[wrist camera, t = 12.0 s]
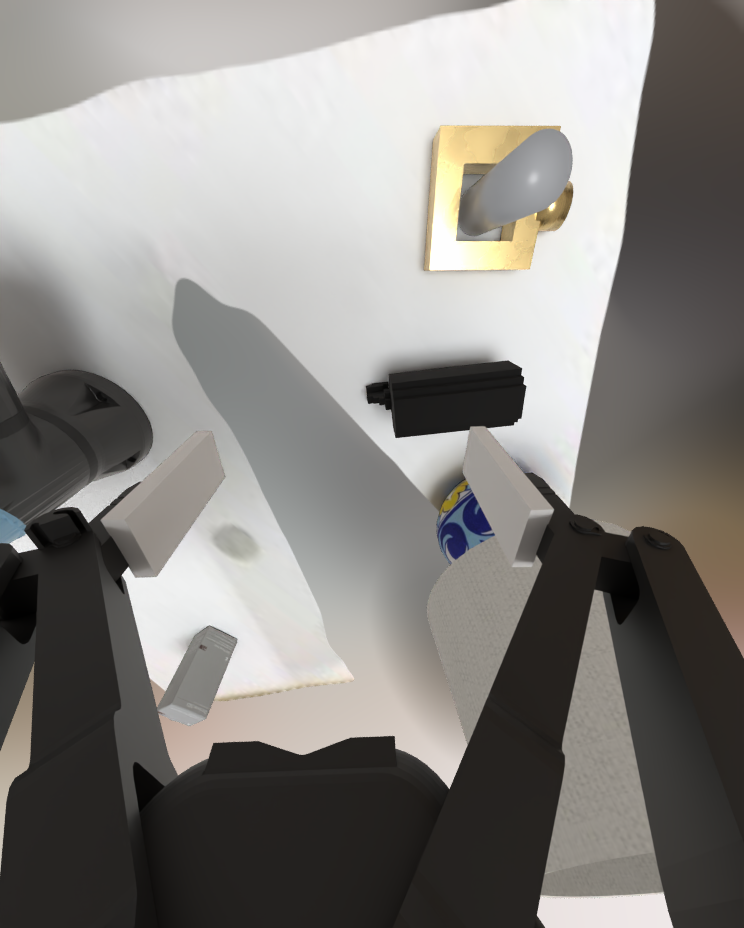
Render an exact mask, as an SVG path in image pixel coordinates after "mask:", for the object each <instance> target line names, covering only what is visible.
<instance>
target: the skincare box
mask: <svg viewBox="0 0 744 928" xmlns="http://www.w3.org/2000/svg"><path fill="white" fill-rule="evenodd" d="M236 643H237V639H236V638H233V637H231V636H229V635H227V634H225V633H223V632H221V631H218V630H216V629H214V628H212V627H211V626H208V627H207V628H205V629H204V630H202V631H201V632H199V633H198V634H196V635H195V636H194V638H193V640H192V642H191V644H190V646H189V648H188V650H187V651H186V653H185V655H184V657H183V659H182V661H181V663H180V665H179V667H178V669H177V671H176V673H175V675H174V677H173V678H172V680H171V682H170V684H169V686H168V688H167V690H166V692H165V694H164V696H163V698H162V700H161V701H160V703H159V705H158V707H157V711H158V714H160V715H162V716H165V717H167V718H169V719H170V720H173V721H177V722H180V723H182V724H185V725H188V726H191V725H193V724H196V723H198V722H200V721H203V720H205V719H206V718H207V715H208V713H209V710H210V708H211V705H212V703H213V700H214V698H215V695H216V693H217V690H218V688H219V685H220V683H221V680H222V678H223V675H224V673H225V671H226V668H227V666H228V663H229V661H230V658H231V656H232V653H233V651H234V648H235V646H236Z"/></svg>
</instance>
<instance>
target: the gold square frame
mask: <svg viewBox="0 0 744 928" xmlns="http://www.w3.org/2000/svg"><path fill="white" fill-rule="evenodd" d="M560 128H561V126H440V128H439V130H438V132H437V134H436V136H435V138H434V139H433V147H432V162H431V176H430V191H429V205H428V220H427V234H426V249H425V263H424V271H441V270H525V269H530V266H531V261H532V256H533V252H534V247H535V243H536V238H537V234H538V231H556V230H557V229H559V228H560V226H561V225H562V224H563V222H564V221H565V219H566V217H567V215H568V212H569V209H570V206H571V203H572V198H573V185H572V183H571V182H570V181H568V183H567V185H566V187H565V189H564V191H563V192H562V194H561V195H560V196H559V198H558V199H557V200H556V201H555V202H554V203H553V204H552V205H550V206H549V207H548V208H546V209H544V210H542V211H539V212H537V213H534V214H532V215H529V216H527V217H524V218H522V219H519V220H516V221H514V222H511V223H509V224H506V225H504V226H503V227H502V233H501V239H500V241H456V233H457V223H458V214H459V205H460V196H461V187H462V178H463V174H487V173H488V172H489V171H490V170H491V169H492V168H493V167H495V166H496V165H497V164H498V163H499V162H500V161H502V160H503V159H504V158H505V157H506V156H507V155H508V154H510V153H511V152H512V151H513V150H514V149H515V148H517V147H518V146H519V145H520V144H521V143H522V142H523V141H525V140H526V139H527V138H528V137H529V136H531V135H532V134H534V133H535V132H537V131H539V130H542V129H555V130H558V131H560Z"/></svg>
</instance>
